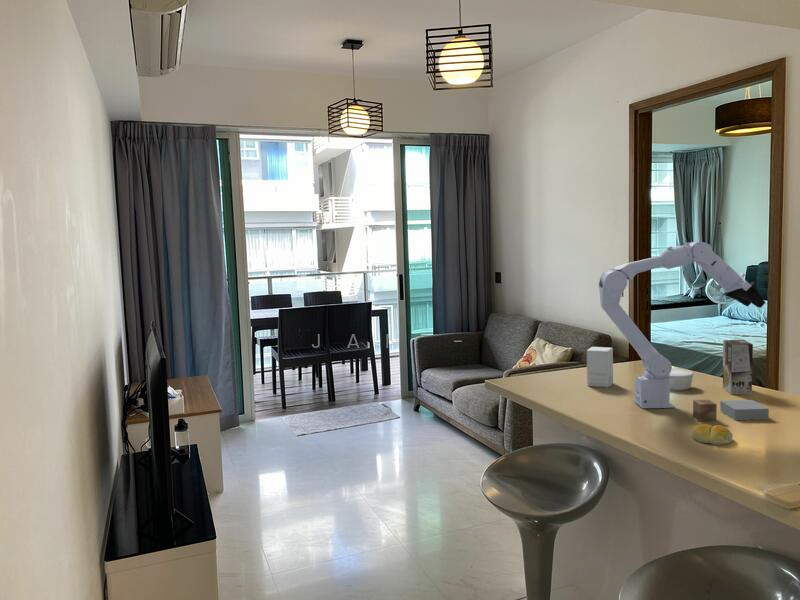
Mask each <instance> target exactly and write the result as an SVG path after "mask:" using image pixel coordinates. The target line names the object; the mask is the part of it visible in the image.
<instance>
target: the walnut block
mask: <svg viewBox="0 0 800 600" xmlns="http://www.w3.org/2000/svg"><path fill="white" fill-rule="evenodd" d="M692 402H693V403H692V418H693V419H695V420H696V419H697V420H696V421H697V422H700V423H701V422H703V423H709V422H710V423H711V421H716V422H717V408H718V407H717V406H718V405H717V403H716V402H714V401H712V400H711V399H693V400H692Z"/></svg>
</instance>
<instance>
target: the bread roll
mask: <svg viewBox="0 0 800 600" xmlns="http://www.w3.org/2000/svg"><path fill="white" fill-rule="evenodd" d="M691 434H692V435H691V436H692V438H693V439H694V440H696V441H697V442H699V443H701V444H702V443H703V444H711V445H713V446H714V445H715V446H725V445H729V444H730V443H732V440H733V433H732V432H731V431H730V429H729V428H727V427H726V426H723V425H721V424H720V425H719V424H717V425H714V426H712V425H711V424H707V423H700V424H698V425H696V426H694V427H693V429H692V431H691Z"/></svg>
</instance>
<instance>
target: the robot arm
mask: <svg viewBox="0 0 800 600" xmlns="http://www.w3.org/2000/svg"><path fill="white" fill-rule="evenodd" d="M694 262H695V264H697V265H698V266H699V267H700V268H701V269H702V271H703V272H705V273H706V275H708V276H709V277H710V278H711V279H712V280H713V281H714V282H716V284H717V285H719V286H720V287H721V288H722V289H723V291H724V293H723V296H725V297H729V298H731V299H733V300H734V301H737V302H739V303H740V304H742V305H743V306H746V307H749V306H750V305H751V304H752V305H754V306H755V307H756V308H759V309H760V308H761V309H762V307H763V306H764V305H766V301H765V299H764V298H763V297H762V295H761V294H760V292H759V289H758V287H757V283H756V282H755V281H751V282H750V283H749V282H748V281H747V280H746V279H745V278H744V277H745V276H746V274H745V273H744V272H742V273H741V272H740V273H737V271H735V270H734V269H733V268H732V266H730V265H729V264H728V263H727V262H726V261H725V260H723V258H721V257H720V255H717V254H716V253H715V251H713V247H712V245H711V244H709V243H707V242H704V241H690V242H685V243H684V244H683V245H680V246H676V247H673V246H668V247H666V249H664V250H662V251H661V253H660V254H659V256H654V257H653V256H652V257H648V258H644V259H641V260H636V261H630V262H627V263H624V264H621V265H617V266H615V267H613V268H608V269H606V270H604V271H603V272H602V273H601V275H600V278H599V282H598V284H597V285H598V289H599V302H600V307H601V308H602V310H603V312H605V314H606V315H607V316H608V317H609V318H610V320H611V322H613V324H614V325H615V326H616V328H617V329H618V330H619V332H621V334H622V335H623V336H624V337H625V339H626V340H627V342H629V344H630V346H631V347H632V348H633V349H634V350H635V351H636V352H637V355H638V356H639V357H640V359H641V362H642V366H643V368H644V369H645V371H644V373H643V375H642V376H637V377H636V378H635V381H634V382H635V383H634V403H635V404H637V405H638V406H639V407H640V408H641V409H675V407H676V406H675V405H674V404H672V403H671V402H670V395H671V394H670V391H671V390H670V375H669V374H670V372H671V370H672V369H673V368H672V367H673V365H672V363H671V361H670V360H669V359H668V358H666V357H665V356H664V355H662V354H661V353H660V352H659V351H658V350H657V349H656V348H655V347H654V346H653V345H652V344H651V343H650V341H649V340H648V339H647V337H646V335H644V334H643V332H642V331H641V330H640V328H639V327H638V326H637V325H636V323H635V322H634V321H633V320H632V319H631V317H630V316H629V315H628V314H627V312H626V311H625V309H624V308H623V307H622V306H621V304H620V302H621V298H622V294H623V292H624V291H625V289H626V288H627V286H628V281H632V280H633V279H634V277H635V276H636V275H637V274H639V273H640V274H641V273H643V272H647V271H650V270H653V269H658V268H661V267H663V268H665V269H667V270H670V269H674V268H677V267H682V266H686V265H687V266H688V265H690V264H692V263H694Z"/></svg>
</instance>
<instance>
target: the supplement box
mask: <svg viewBox="0 0 800 600" xmlns="http://www.w3.org/2000/svg"><path fill="white" fill-rule="evenodd" d="M585 351H586V379H587V380H586V384H587V387H599V388H610V386H612V385H613V384H614V358H613V357H614V356H613V355H614V354H613V352H614V348H613V347H606V346H605V347H603V346H591V347H589V348H588V349H587V350H585Z"/></svg>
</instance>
